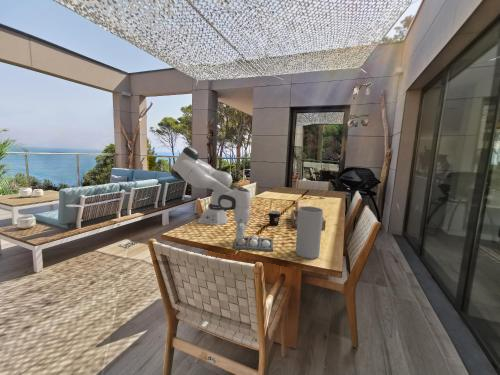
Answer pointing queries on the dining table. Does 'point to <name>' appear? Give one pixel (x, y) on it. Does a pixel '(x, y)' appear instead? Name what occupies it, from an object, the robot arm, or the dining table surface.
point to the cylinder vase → (309, 231)
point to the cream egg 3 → (266, 244)
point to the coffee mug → (273, 218)
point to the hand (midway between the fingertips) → (241, 240)
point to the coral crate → (295, 219)
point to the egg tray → (258, 247)
